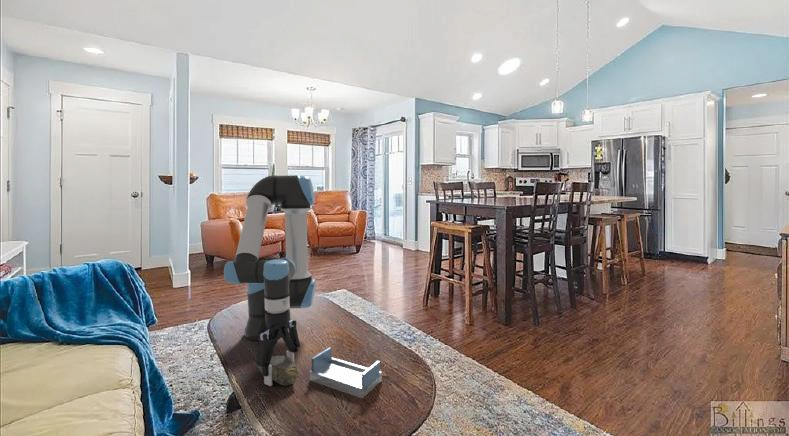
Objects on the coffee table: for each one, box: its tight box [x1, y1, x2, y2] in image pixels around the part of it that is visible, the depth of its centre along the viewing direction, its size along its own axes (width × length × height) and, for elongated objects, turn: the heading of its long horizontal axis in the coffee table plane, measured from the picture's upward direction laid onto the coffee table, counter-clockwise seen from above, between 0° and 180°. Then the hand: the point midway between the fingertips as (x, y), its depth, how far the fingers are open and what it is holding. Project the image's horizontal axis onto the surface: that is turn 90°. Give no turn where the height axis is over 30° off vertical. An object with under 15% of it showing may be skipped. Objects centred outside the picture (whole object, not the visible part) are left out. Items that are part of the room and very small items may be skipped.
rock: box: [257, 355, 299, 387], centre depth 123 cm, size 17×7×10 cm
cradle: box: [309, 346, 383, 399], centre depth 122 cm, size 20×11×7 cm, turn 61°
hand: (279, 377), depth 123 cm, fingers closed on rock, 9 cm apart
